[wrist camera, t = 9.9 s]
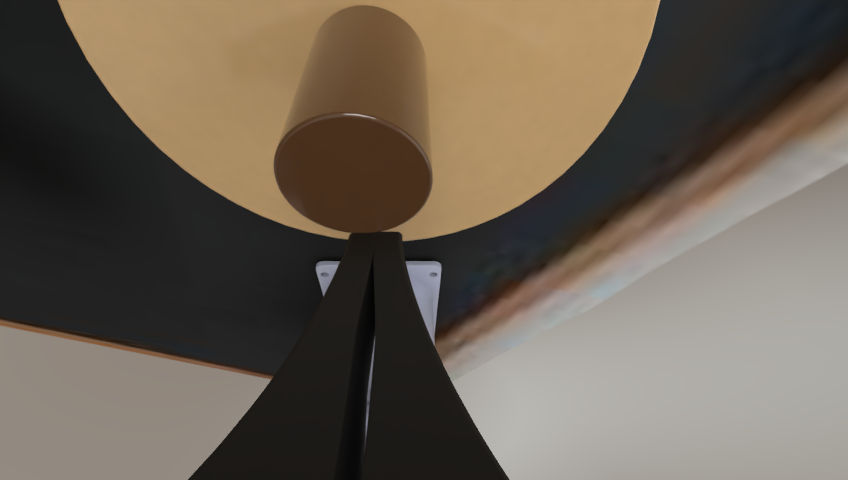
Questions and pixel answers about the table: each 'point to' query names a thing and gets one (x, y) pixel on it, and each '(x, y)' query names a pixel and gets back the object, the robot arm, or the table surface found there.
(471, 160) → the lid
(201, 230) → the table surface
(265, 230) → the table surface
